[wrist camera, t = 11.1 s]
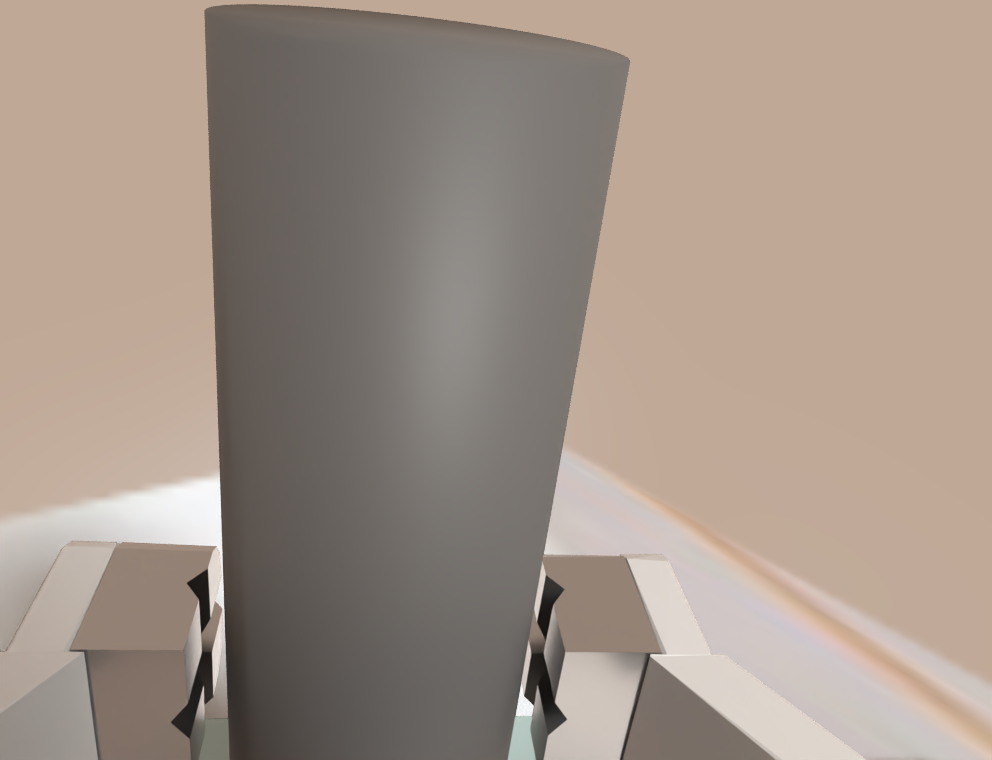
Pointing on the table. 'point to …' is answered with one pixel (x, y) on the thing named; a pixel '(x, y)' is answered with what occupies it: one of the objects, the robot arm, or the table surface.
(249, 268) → the carriage
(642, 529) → the table surface
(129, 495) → the table surface
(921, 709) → the table surface
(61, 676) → the robot arm
